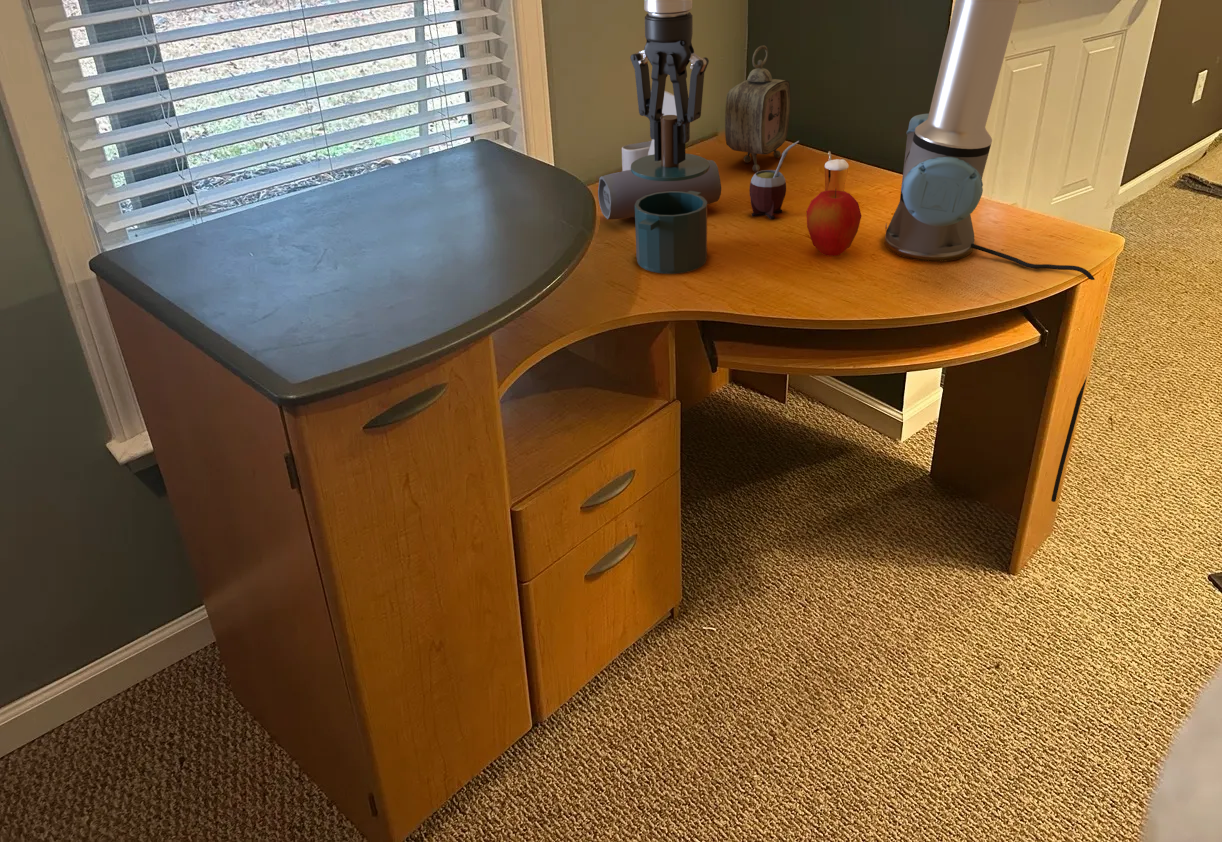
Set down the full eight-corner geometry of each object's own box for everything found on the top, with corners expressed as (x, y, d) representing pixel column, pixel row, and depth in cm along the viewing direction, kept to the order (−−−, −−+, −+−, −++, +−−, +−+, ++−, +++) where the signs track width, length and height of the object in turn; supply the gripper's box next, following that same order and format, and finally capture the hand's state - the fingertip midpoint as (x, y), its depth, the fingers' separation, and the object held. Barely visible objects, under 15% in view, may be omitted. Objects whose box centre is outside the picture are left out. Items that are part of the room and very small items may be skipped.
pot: (725, 248, 179) (726, 192, 174) (677, 284, 167) (676, 226, 161) (666, 236, 185) (665, 182, 180) (615, 271, 173) (613, 214, 167)
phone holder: (618, 174, 217) (614, 90, 208) (659, 166, 220) (658, 84, 211) (651, 197, 204) (649, 109, 194) (694, 189, 207) (695, 102, 197)
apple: (793, 252, 176) (797, 187, 170) (829, 239, 180) (834, 175, 174) (832, 268, 170) (837, 201, 163) (868, 254, 174) (874, 188, 168)
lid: (723, 165, 169) (724, 111, 164) (685, 189, 160) (685, 132, 155) (656, 155, 175) (655, 103, 170) (615, 177, 166) (613, 123, 161)
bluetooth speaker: (704, 199, 201) (704, 151, 196) (722, 214, 194) (722, 164, 188) (598, 216, 196) (595, 167, 191) (612, 232, 188) (610, 181, 183)
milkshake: (835, 198, 198) (839, 149, 193) (849, 207, 194) (853, 157, 188) (815, 202, 197) (818, 152, 192) (828, 210, 193) (832, 160, 187)
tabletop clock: (759, 176, 212) (763, 55, 199) (722, 170, 216) (723, 51, 203) (787, 156, 222) (793, 40, 209) (751, 151, 226) (754, 37, 213)
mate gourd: (743, 210, 195) (745, 134, 187) (780, 205, 197) (784, 130, 189) (757, 223, 189) (760, 145, 181) (795, 217, 190) (800, 140, 182)
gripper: (725, 11, 153) (722, 160, 165) (637, 5, 160) (640, 148, 173) (702, 20, 147) (701, 173, 160) (612, 13, 155) (618, 160, 168)
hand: (670, 159), depth 166 cm, fingers closed on lid, 3 cm apart
